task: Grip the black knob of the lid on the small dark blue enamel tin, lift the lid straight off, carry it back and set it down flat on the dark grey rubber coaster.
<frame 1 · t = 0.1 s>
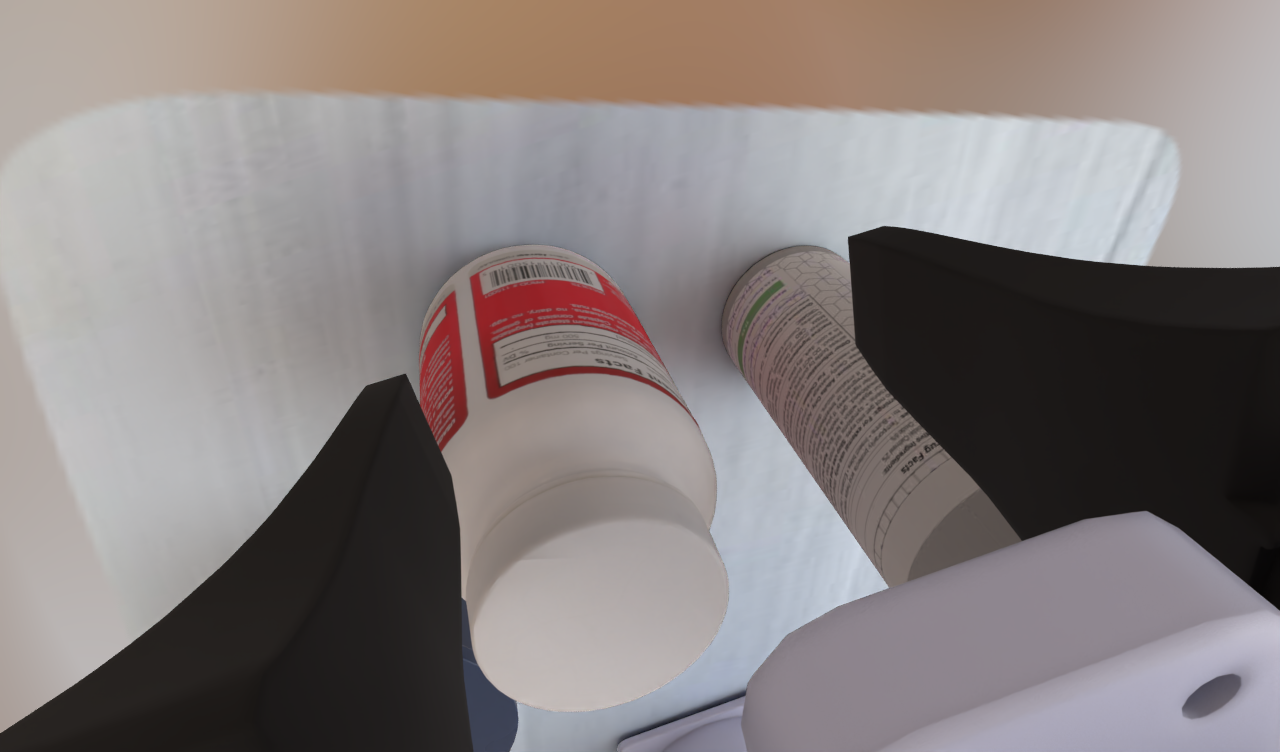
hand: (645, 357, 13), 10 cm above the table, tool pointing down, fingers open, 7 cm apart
container: (788, 312, 25), on the table
pill bottle: (527, 334, 23), on the table
tin: (391, 587, 27), on the table
lid: (386, 726, 22), point 5 cm above the table, touching tin
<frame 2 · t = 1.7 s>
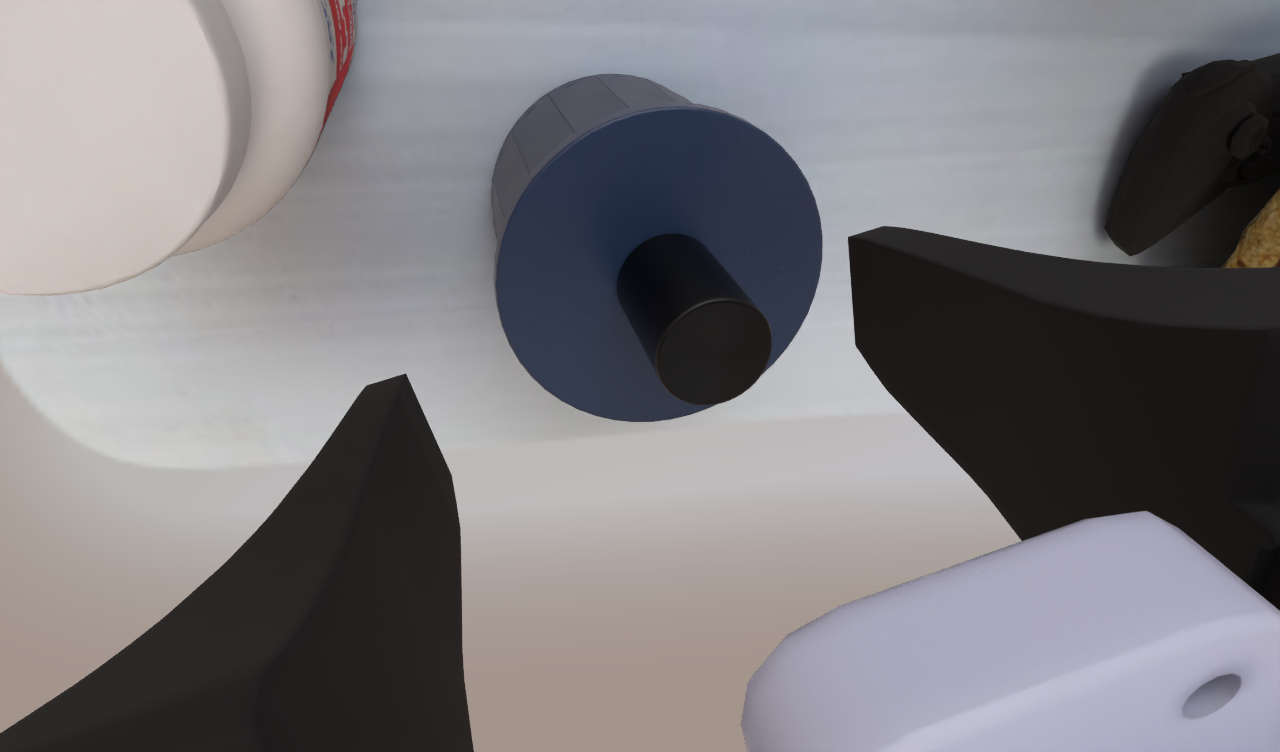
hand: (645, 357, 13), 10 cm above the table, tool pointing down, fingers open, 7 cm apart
tin: (609, 196, 22), on the table
lid: (660, 272, 17), point 5 cm above the table, touching tin
gaming controller: (1221, 127, 26), on the table, touching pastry
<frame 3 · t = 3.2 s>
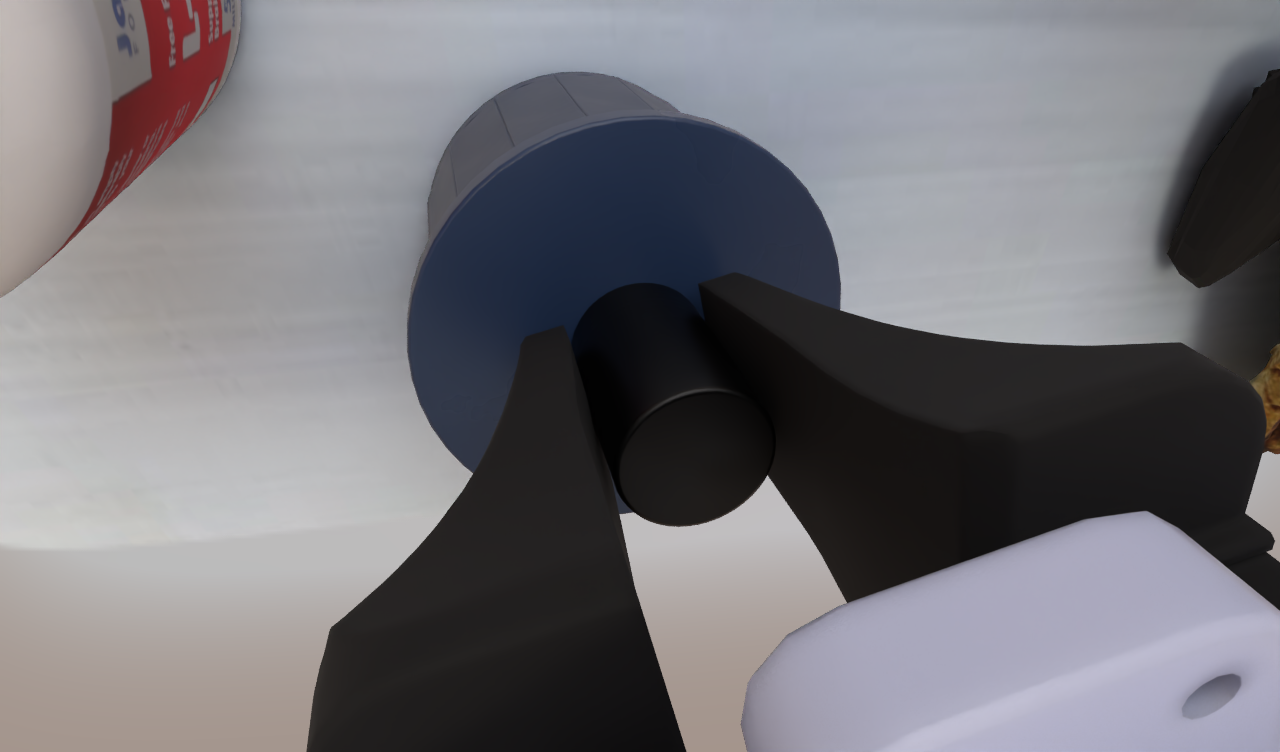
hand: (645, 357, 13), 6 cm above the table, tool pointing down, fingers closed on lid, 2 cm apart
tin: (575, 221, 18), on the table
lid: (630, 329, 13), point 5 cm above the table, touching gripper, tin
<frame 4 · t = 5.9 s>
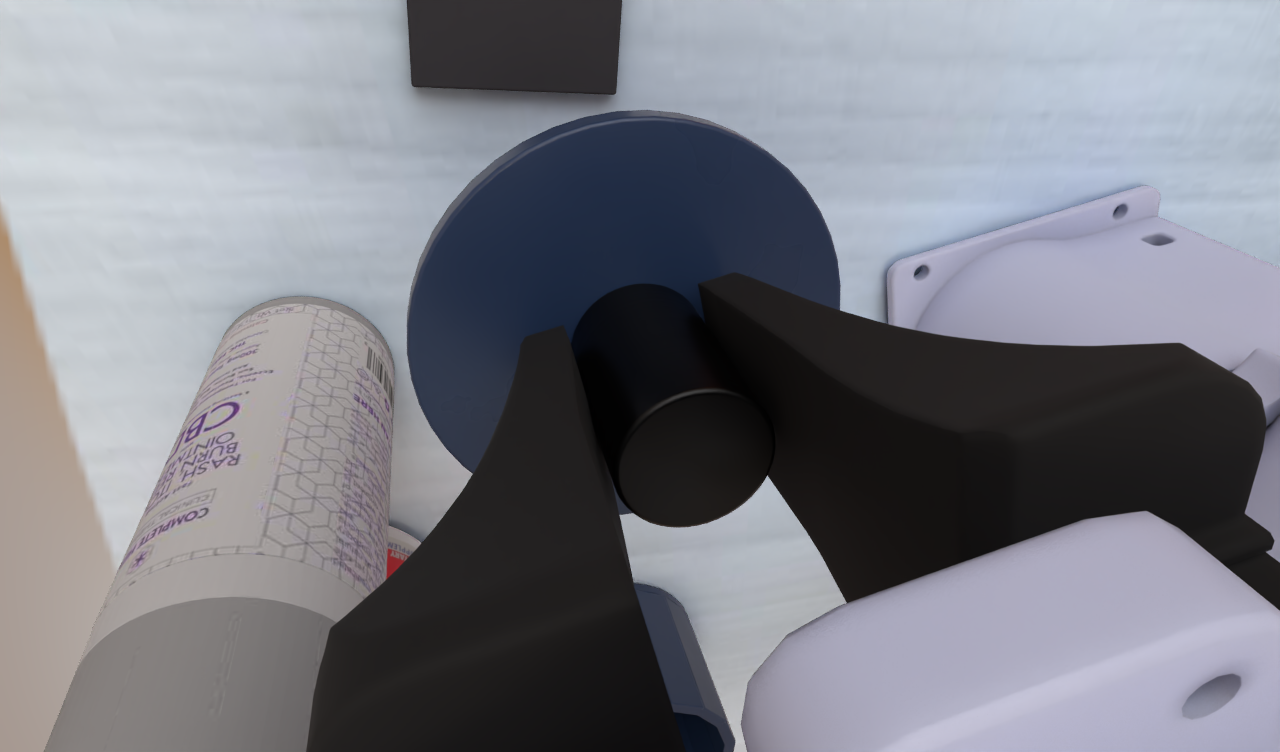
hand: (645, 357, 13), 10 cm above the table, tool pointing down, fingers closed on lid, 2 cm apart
container: (309, 367, 23), on the table
pill bottle: (351, 580, 27), on the table
tin: (610, 643, 31), on the table
lid: (629, 330, 13), point 9 cm above the table, touching gripper
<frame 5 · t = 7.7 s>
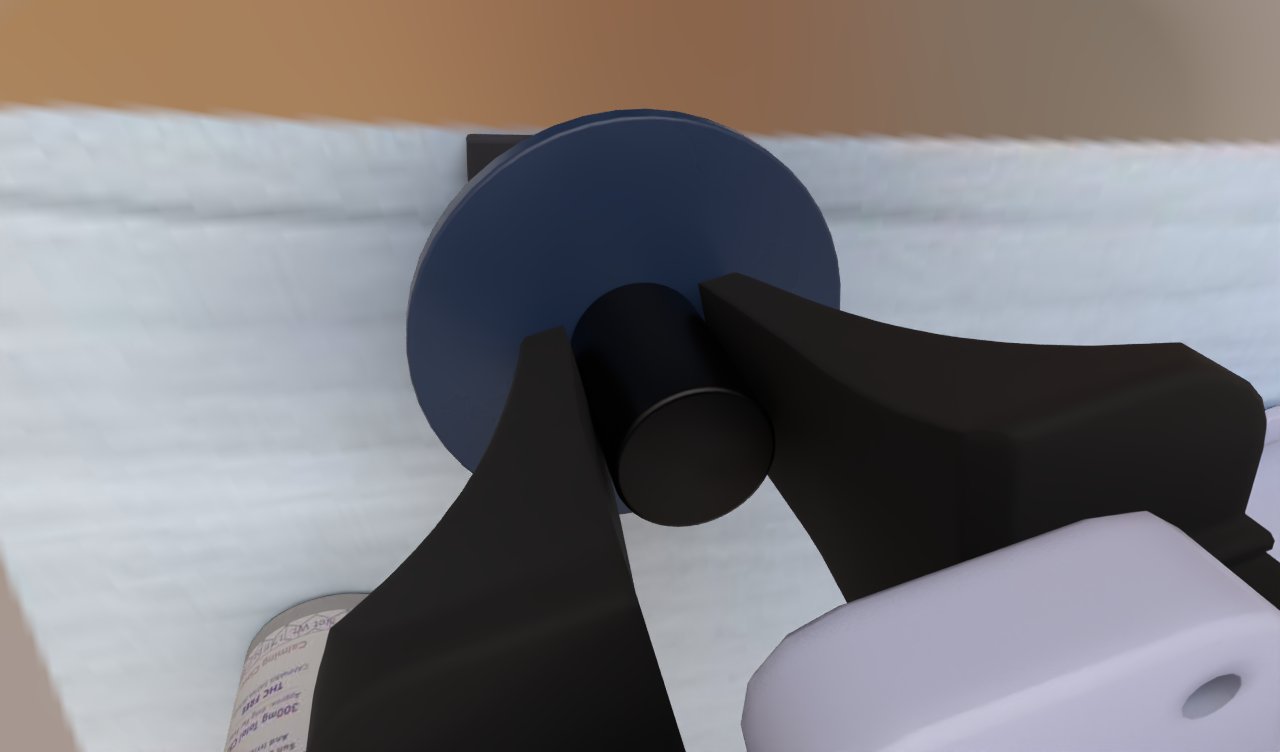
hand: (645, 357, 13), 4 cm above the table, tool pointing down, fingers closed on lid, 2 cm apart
container: (349, 655, 20), on the table
lid: (629, 329, 13), point 3 cm above the table, touching gripper
coaster: (598, 262, 16), on the table
when the fingers open (2 cm above the table, at t = 8.5 s): lid stays where it is, resting on coaster.
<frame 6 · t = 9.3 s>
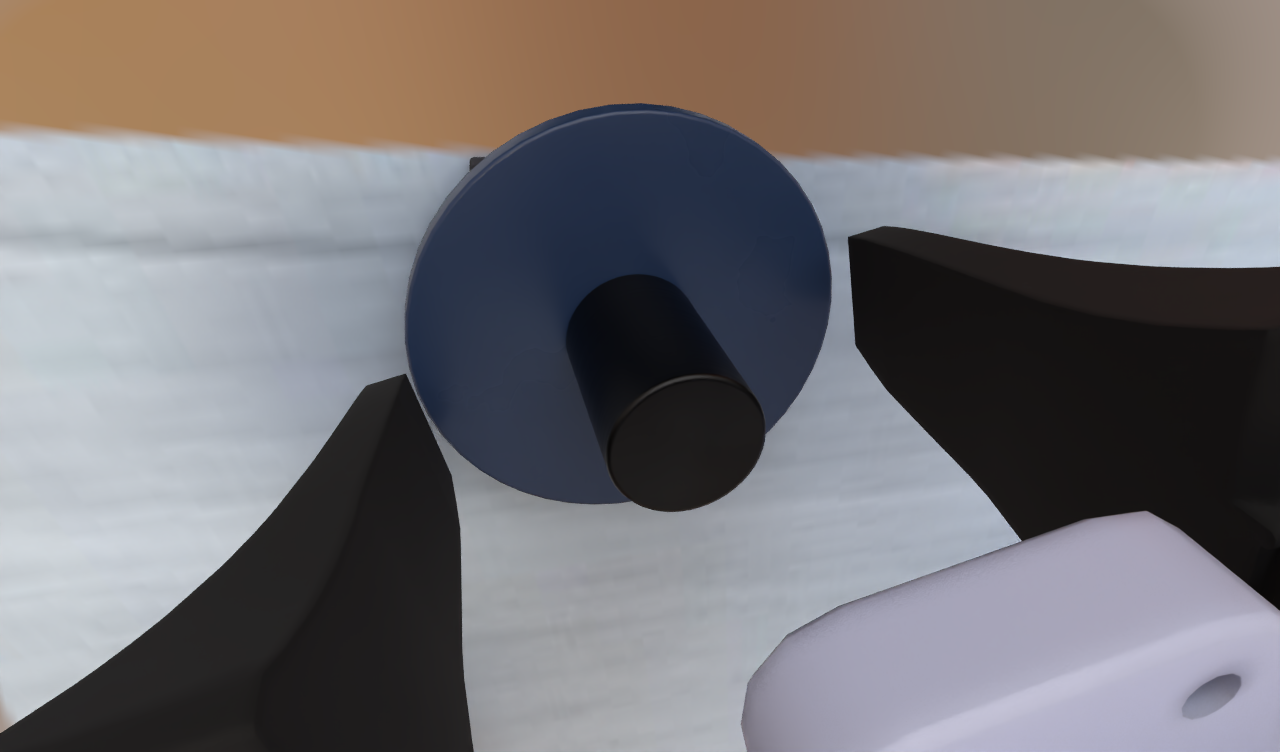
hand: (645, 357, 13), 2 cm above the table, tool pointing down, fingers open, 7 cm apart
lid: (624, 320, 14), point 1 cm above the table, touching coaster
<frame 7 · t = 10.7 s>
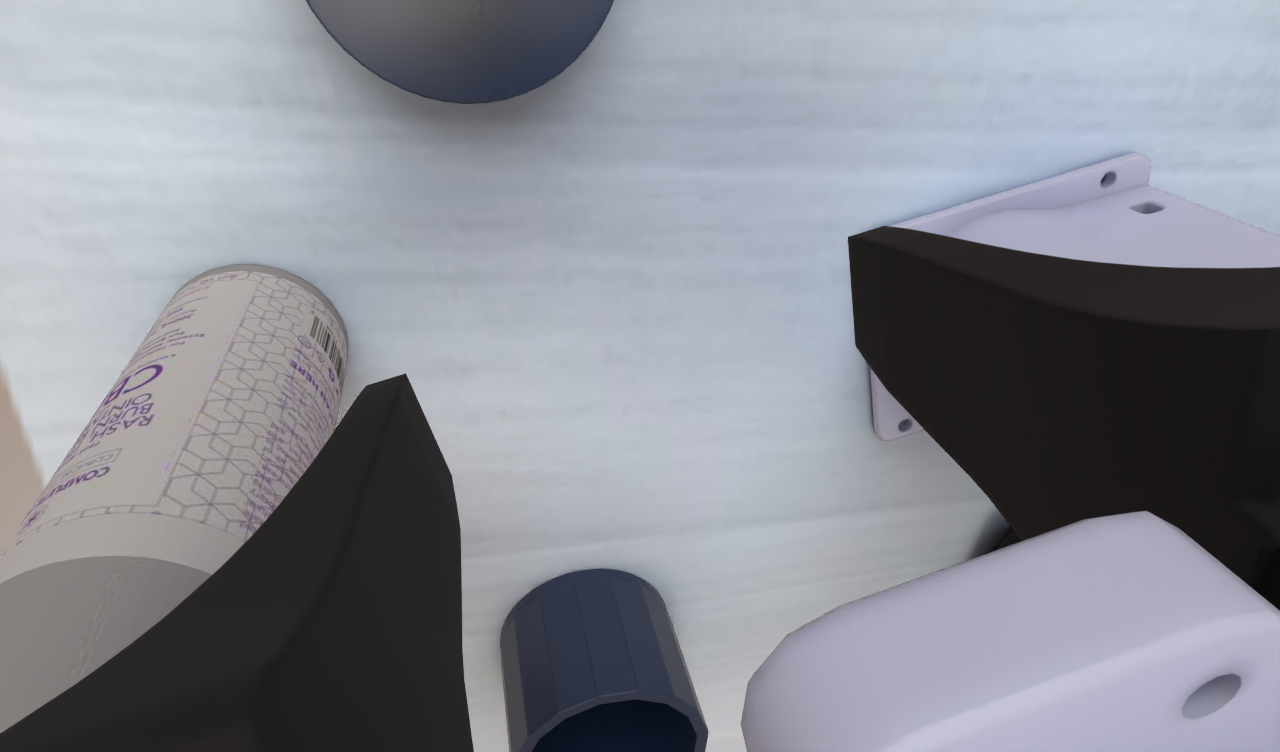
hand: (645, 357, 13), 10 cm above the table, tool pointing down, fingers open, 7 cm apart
container: (259, 339, 22), on the table
tin: (585, 632, 30), on the table
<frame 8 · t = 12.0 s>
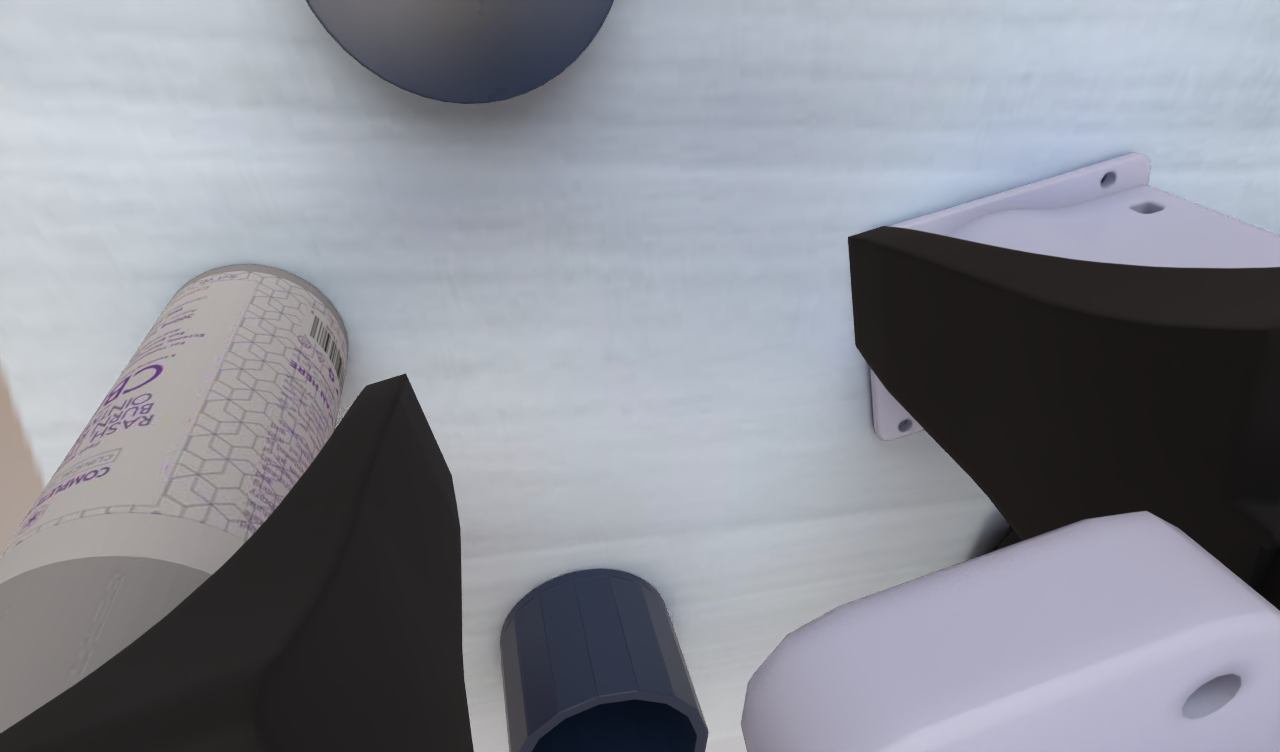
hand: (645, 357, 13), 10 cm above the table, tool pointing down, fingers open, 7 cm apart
container: (259, 339, 22), on the table
tin: (585, 632, 30), on the table
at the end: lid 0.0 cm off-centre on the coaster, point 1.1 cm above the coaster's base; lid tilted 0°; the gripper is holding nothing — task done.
